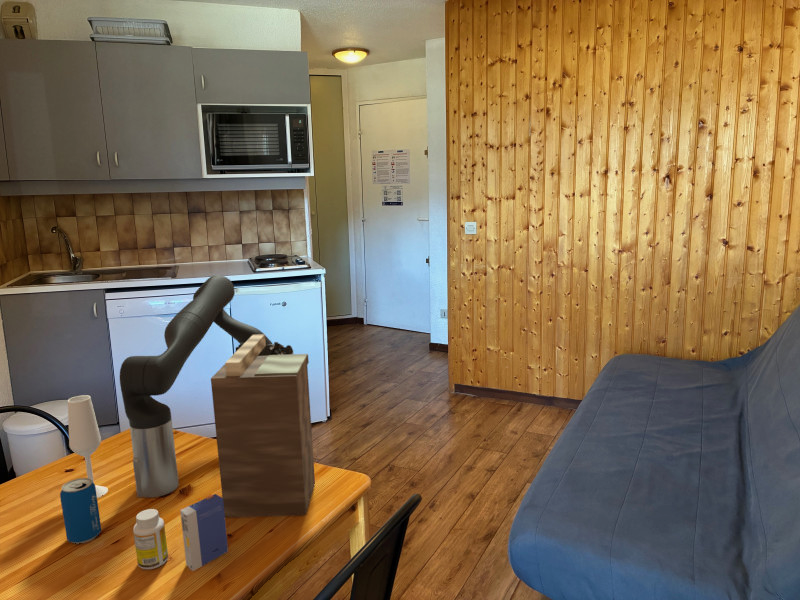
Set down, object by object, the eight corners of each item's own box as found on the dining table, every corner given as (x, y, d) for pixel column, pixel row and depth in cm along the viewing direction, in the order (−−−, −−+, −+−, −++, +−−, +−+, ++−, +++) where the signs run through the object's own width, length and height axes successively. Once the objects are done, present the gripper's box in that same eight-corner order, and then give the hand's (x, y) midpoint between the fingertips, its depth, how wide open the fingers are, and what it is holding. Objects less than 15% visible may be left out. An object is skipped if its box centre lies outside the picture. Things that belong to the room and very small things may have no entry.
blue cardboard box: (220, 546, 120) (215, 492, 118) (228, 551, 118) (223, 496, 116) (184, 565, 114) (178, 508, 112) (192, 571, 112) (186, 513, 110)
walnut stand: (243, 481, 146) (231, 355, 140) (316, 479, 146) (307, 352, 140) (224, 517, 130) (210, 376, 124) (306, 515, 130) (296, 373, 124)
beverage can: (87, 547, 121) (79, 493, 119) (60, 544, 122) (51, 491, 120) (108, 529, 127) (101, 477, 125) (82, 527, 129) (74, 475, 126)
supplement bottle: (159, 549, 119) (153, 503, 117) (174, 560, 116) (168, 512, 114) (132, 563, 115) (126, 515, 113) (146, 575, 112) (140, 525, 110)
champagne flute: (75, 503, 139) (61, 405, 134) (78, 490, 145) (64, 396, 140) (107, 496, 141) (94, 400, 137) (108, 483, 147) (95, 392, 143)
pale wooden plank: (253, 346, 149) (252, 334, 148) (265, 345, 149) (264, 334, 148) (226, 376, 125) (225, 362, 125) (240, 376, 125) (239, 362, 125)
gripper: (247, 349, 164) (230, 332, 149) (298, 347, 164) (287, 330, 149) (246, 375, 162) (228, 361, 146) (298, 374, 161) (286, 360, 146)
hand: (258, 346), depth 147 cm, fingers open, 8 cm apart
